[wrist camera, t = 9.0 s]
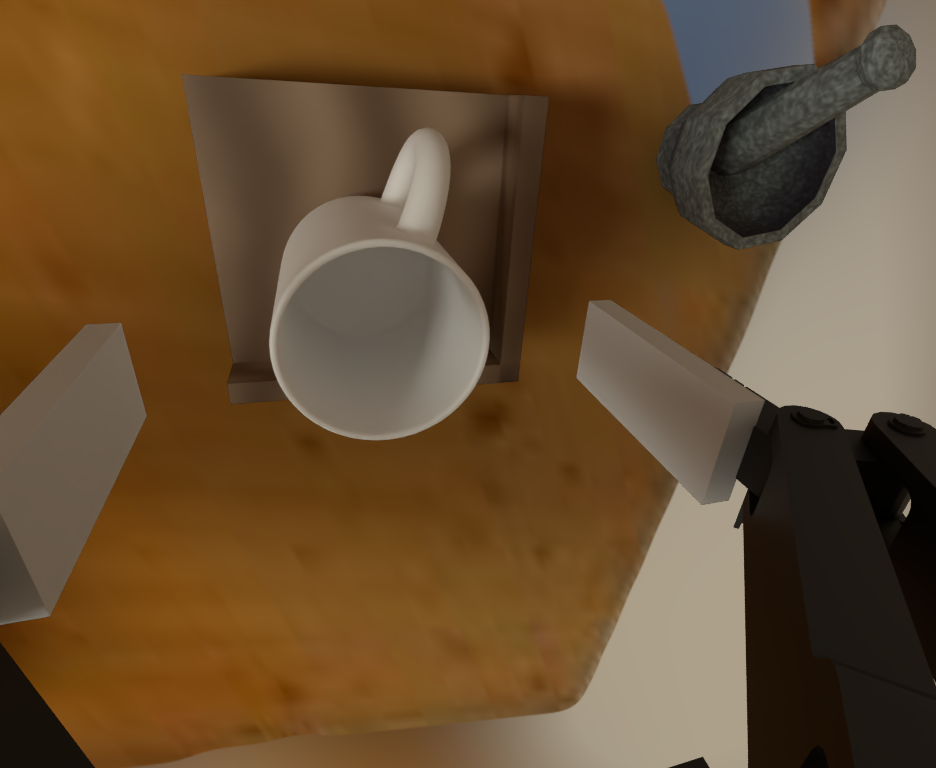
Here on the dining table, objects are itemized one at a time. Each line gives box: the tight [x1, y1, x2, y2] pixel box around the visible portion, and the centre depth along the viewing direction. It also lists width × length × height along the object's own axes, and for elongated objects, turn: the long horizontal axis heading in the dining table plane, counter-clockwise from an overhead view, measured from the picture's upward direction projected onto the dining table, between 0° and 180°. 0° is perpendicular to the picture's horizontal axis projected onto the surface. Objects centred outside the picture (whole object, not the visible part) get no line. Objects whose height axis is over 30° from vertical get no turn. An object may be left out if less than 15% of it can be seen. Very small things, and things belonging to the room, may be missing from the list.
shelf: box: [182, 74, 549, 404], centre depth 29 cm, size 16×15×8 cm
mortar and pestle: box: [656, 25, 916, 250], centre depth 30 cm, size 11×9×12 cm
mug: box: [269, 128, 490, 440], centre depth 23 cm, size 12×8×10 cm
